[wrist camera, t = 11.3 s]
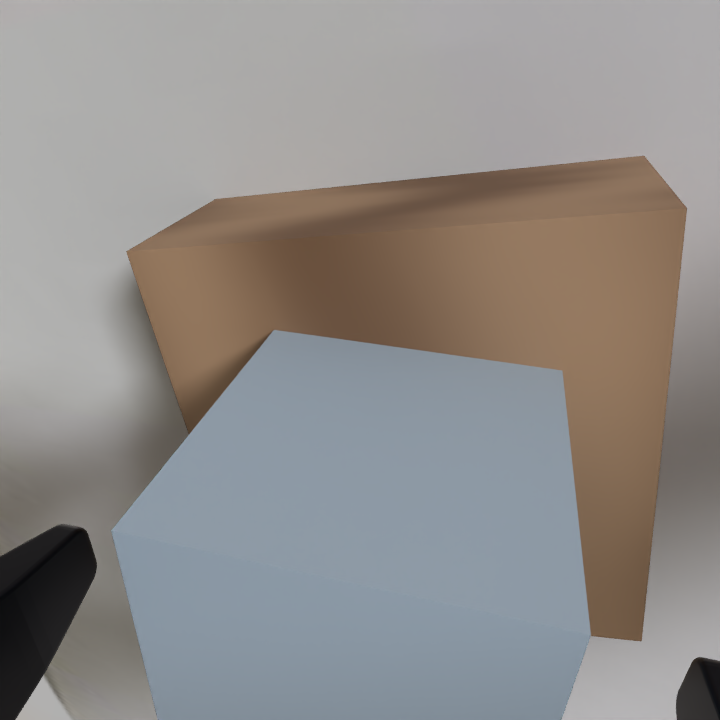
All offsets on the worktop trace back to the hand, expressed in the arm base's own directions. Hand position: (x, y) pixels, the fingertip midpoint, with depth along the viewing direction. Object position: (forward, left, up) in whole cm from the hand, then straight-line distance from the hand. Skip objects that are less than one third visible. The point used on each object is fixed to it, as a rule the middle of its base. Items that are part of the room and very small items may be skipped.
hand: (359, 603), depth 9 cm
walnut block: (0, 0, -7) cm, 7 cm away
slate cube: (0, 0, -3) cm, 3 cm away
